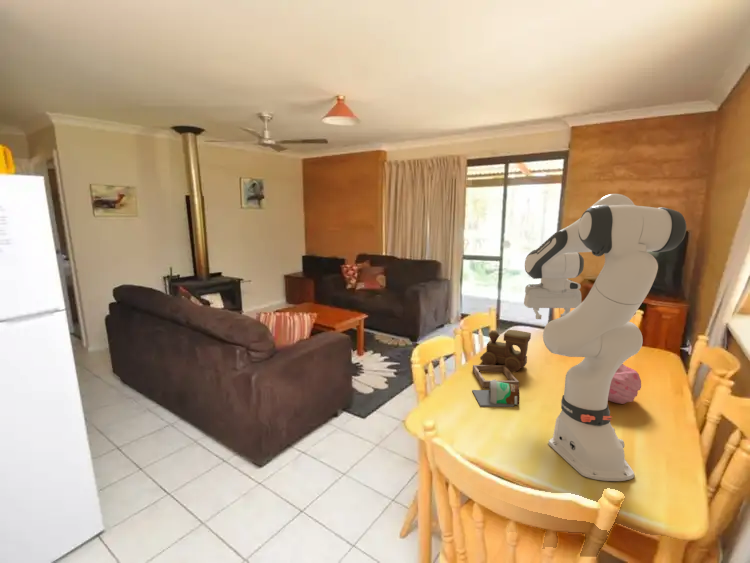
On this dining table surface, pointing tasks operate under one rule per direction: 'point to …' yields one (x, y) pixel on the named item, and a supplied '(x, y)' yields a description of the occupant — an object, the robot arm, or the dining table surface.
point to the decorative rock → (624, 385)
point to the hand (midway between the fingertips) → (550, 319)
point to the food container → (504, 393)
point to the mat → (487, 399)
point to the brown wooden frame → (493, 369)
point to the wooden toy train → (507, 350)
